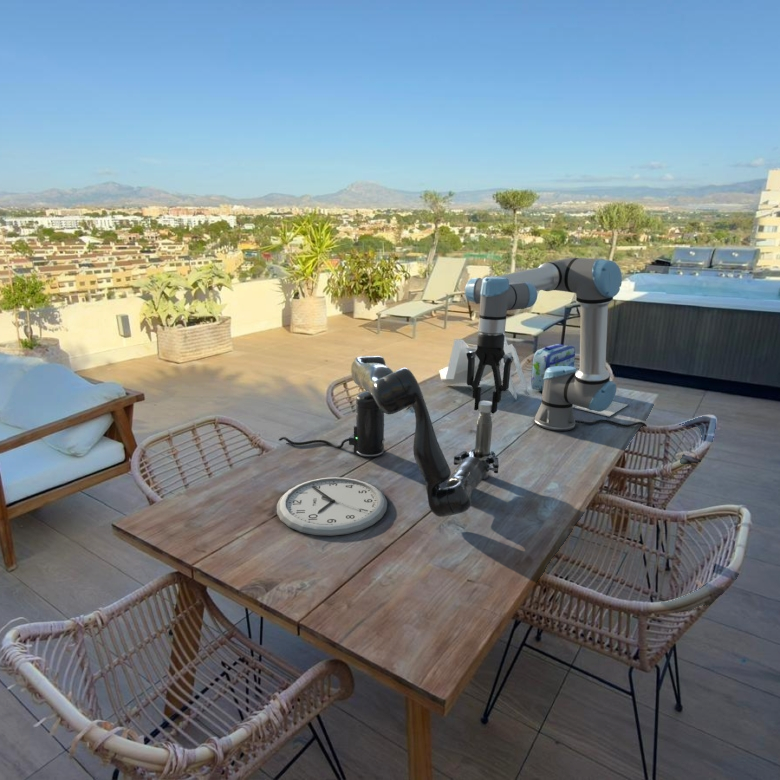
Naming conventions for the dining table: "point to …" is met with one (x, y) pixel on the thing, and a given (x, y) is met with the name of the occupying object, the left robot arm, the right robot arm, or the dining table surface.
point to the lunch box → (550, 362)
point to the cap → (485, 406)
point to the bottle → (483, 436)
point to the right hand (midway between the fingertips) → (485, 410)
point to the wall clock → (331, 506)
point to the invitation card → (609, 411)
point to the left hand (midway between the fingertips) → (484, 452)
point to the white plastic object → (460, 366)
